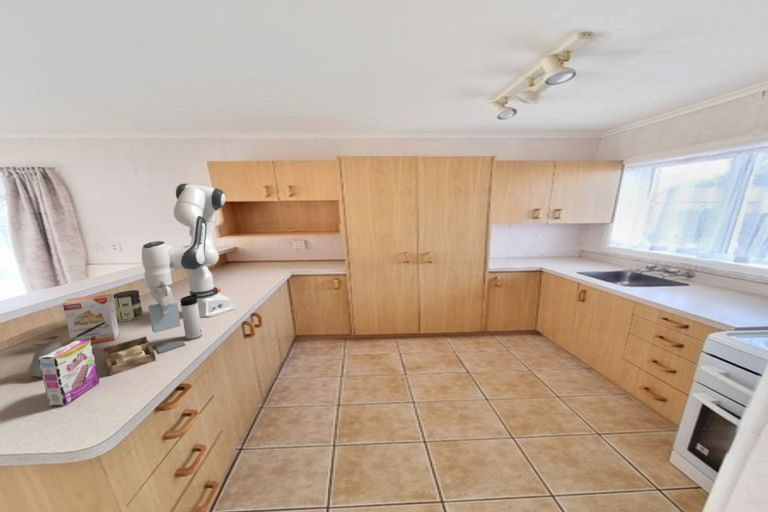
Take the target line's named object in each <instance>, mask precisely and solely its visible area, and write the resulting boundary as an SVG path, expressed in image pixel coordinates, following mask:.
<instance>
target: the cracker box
mask: <svg viewBox="0 0 768 512" xmlns="http://www.w3.org/2000/svg"><path fill="white" fill-rule="evenodd" d="M62 307H63V312H64V315H65V320H66V325H67V329H68V333H69V339H71V338H73V337H75V336H77V335H78V334H80V333H82V332H84V331H86V330H88V329H89V328H92V327H95V326H96V325H99V324H101V323H103V322H106V323H107V324H106V323H105V324H106V325H108V326H106V325H105V324H103V325H101V326H100V327H97V328H96V329H94V330H92V331H91V332H89V333H86V334H84V335H82V336H80V337H77V338H76V339H74V340H72V341H70V343H72V342H74V341H81V340H91V343H92V345H93V344H98V343H106V342H112V341H115V340H116V339H117V338H119V336H120V329H119V324H118V317H117V312H116V307H115V302H114V297H113V294H112V293H109V294H100V295H99V294H98V295H91V296H90V295H88V296H81V297H79V296H78V297H73V298H71V297H70V298H68V299H66V300H65V301H63V302H62Z"/></svg>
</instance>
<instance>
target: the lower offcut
mask: <svg viewBox="0 0 768 512" xmlns="http://www.w3.org/2000/svg"><path fill="white" fill-rule="evenodd" d="M142 352H143V354H141V355H139V356H136V357H134V358H132V359H129V360H127V361H130V360H133V359H136V358H139V357H142V356H145V353H144V351H142ZM115 360H116V365H117V364H120V363H123V361H120V360H119V359H115ZM124 362H126V361H124Z"/></svg>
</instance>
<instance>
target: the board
mask: <svg viewBox="0 0 768 512" xmlns="http://www.w3.org/2000/svg"><path fill="white" fill-rule="evenodd" d="M168 311H169V313H167V314H163V311H162V306H161V305H160V304H158V303H156V304H151V305H148V313H149V320H150V326H151V330H152V332H153V334H156V333H159V332H164V331H168V330H171V329H175V328H179V327H181V320H180V313H179V312H180V311H179V306H178V302H177V301H176V300H174V299H173V305H172V306H169V308H168Z"/></svg>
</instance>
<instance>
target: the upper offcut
mask: <svg viewBox="0 0 768 512" xmlns="http://www.w3.org/2000/svg"><path fill="white" fill-rule="evenodd" d="M141 354H143V352H142V347H141V346H138V345H136V346H134V347H131V348H128V349H126V350H123V351H121V352H118V357H119V360H120V361H123V362H124V361H127V360H129V359H132V358H134V357H136V356H139V355H141Z"/></svg>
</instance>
